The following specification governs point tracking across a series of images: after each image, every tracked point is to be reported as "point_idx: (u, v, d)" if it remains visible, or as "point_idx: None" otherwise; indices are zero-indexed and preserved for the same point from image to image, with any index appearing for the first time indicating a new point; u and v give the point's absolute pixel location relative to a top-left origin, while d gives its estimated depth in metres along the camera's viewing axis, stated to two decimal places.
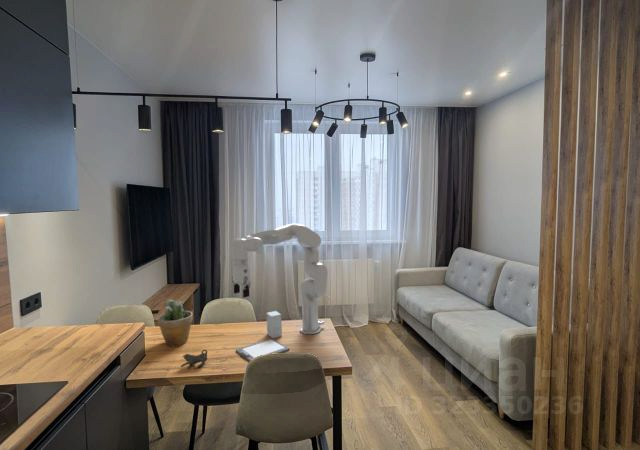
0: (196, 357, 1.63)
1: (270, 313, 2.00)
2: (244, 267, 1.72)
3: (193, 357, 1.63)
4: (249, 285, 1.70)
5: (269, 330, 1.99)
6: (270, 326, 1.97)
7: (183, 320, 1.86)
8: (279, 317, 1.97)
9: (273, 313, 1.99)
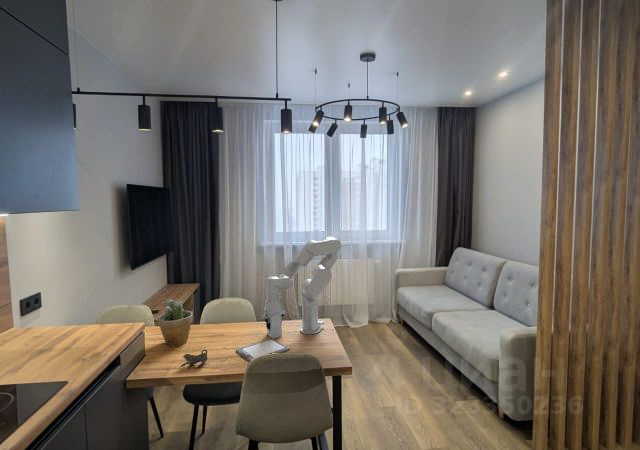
0: (196, 357, 1.63)
1: None
2: None
3: (193, 357, 1.63)
4: None
5: (269, 330, 1.99)
6: (270, 326, 1.97)
7: (183, 320, 1.86)
8: (279, 317, 1.97)
9: None
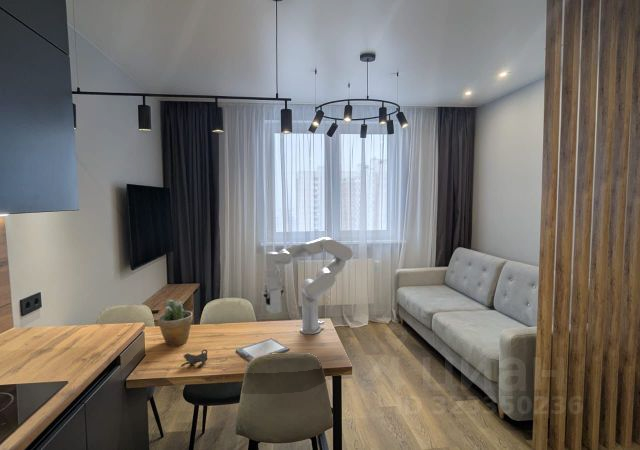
0: (196, 357, 1.64)
1: None
2: None
3: (193, 357, 1.63)
4: (282, 290, 2.03)
5: (268, 305, 1.98)
6: None
7: (183, 320, 1.86)
8: (278, 292, 1.96)
9: None
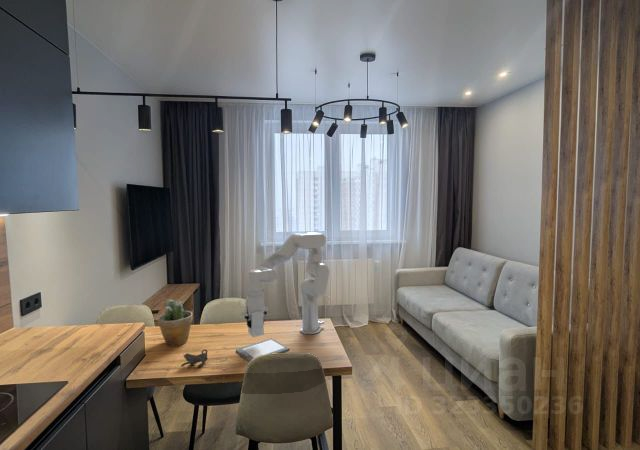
0: (196, 357, 1.64)
1: None
2: None
3: (193, 357, 1.63)
4: None
5: (249, 328, 1.82)
6: (251, 323, 1.80)
7: (183, 320, 1.86)
8: (261, 314, 1.80)
9: None
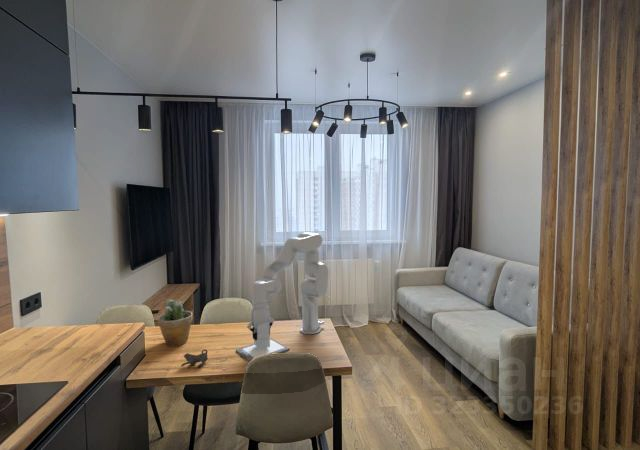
0: (196, 357, 1.64)
1: None
2: None
3: (193, 357, 1.63)
4: None
5: (255, 340, 1.79)
6: None
7: (183, 320, 1.86)
8: (267, 326, 1.77)
9: None
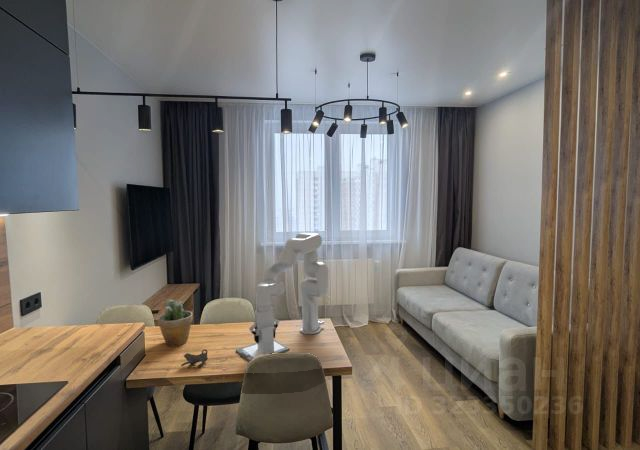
0: (196, 357, 1.64)
1: None
2: None
3: (193, 356, 1.63)
4: None
5: (259, 345, 1.76)
6: (261, 340, 1.74)
7: (183, 320, 1.86)
8: (271, 330, 1.74)
9: None
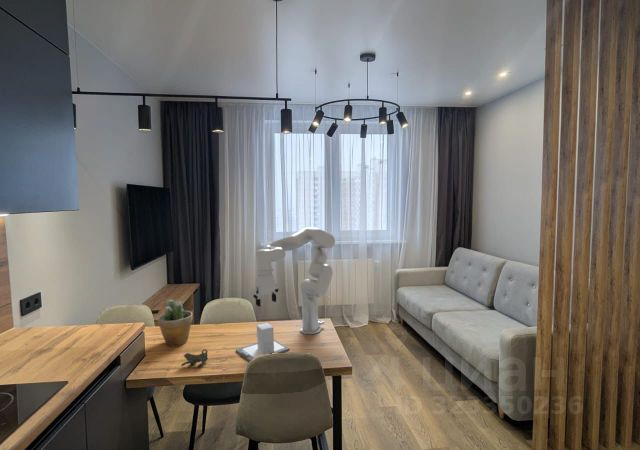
0: (196, 356, 1.64)
1: (261, 326, 1.77)
2: None
3: (193, 356, 1.63)
4: None
5: (259, 345, 1.76)
6: (261, 340, 1.74)
7: (183, 320, 1.86)
8: (271, 330, 1.74)
9: (264, 326, 1.76)
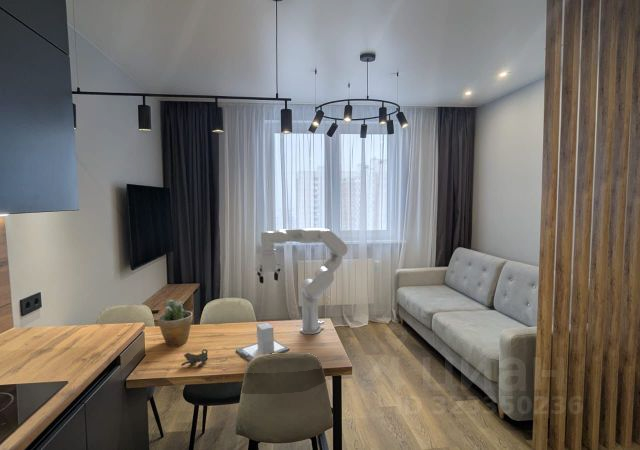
0: (196, 356, 1.64)
1: (261, 326, 1.77)
2: None
3: (193, 356, 1.64)
4: None
5: (259, 345, 1.76)
6: (261, 340, 1.74)
7: (183, 320, 1.86)
8: (271, 330, 1.74)
9: (264, 326, 1.76)
